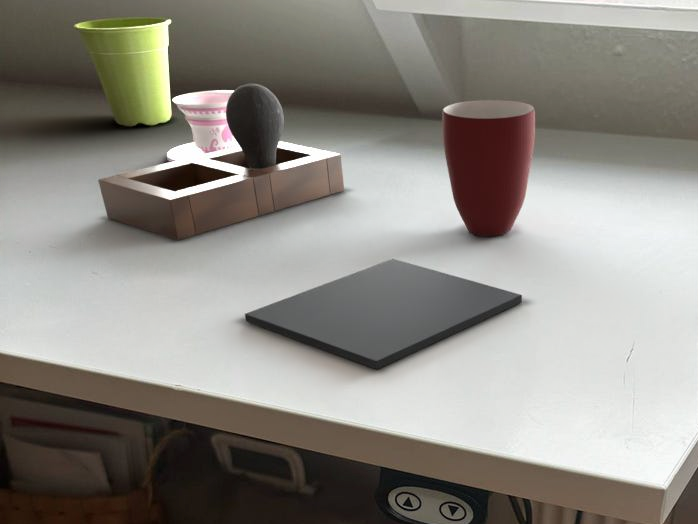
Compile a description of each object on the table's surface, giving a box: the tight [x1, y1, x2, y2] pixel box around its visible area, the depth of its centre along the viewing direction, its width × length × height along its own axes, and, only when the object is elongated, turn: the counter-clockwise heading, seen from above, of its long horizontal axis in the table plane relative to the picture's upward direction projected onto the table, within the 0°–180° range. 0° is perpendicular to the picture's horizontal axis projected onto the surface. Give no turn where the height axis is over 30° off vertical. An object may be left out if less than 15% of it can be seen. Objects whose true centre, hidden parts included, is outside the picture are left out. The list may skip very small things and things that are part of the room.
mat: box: [244, 258, 523, 370], centre depth 72 cm, size 16×14×1 cm
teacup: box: [166, 89, 239, 162], centre depth 108 cm, size 12×12×6 cm
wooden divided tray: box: [98, 140, 345, 241], centre depth 94 cm, size 21×12×4 cm, turn 140°
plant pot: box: [73, 16, 172, 127], centre depth 122 cm, size 12×12×11 cm
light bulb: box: [226, 83, 285, 170], centre depth 95 cm, size 6×6×10 cm
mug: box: [441, 99, 536, 237], centre depth 85 cm, size 10×8×10 cm
